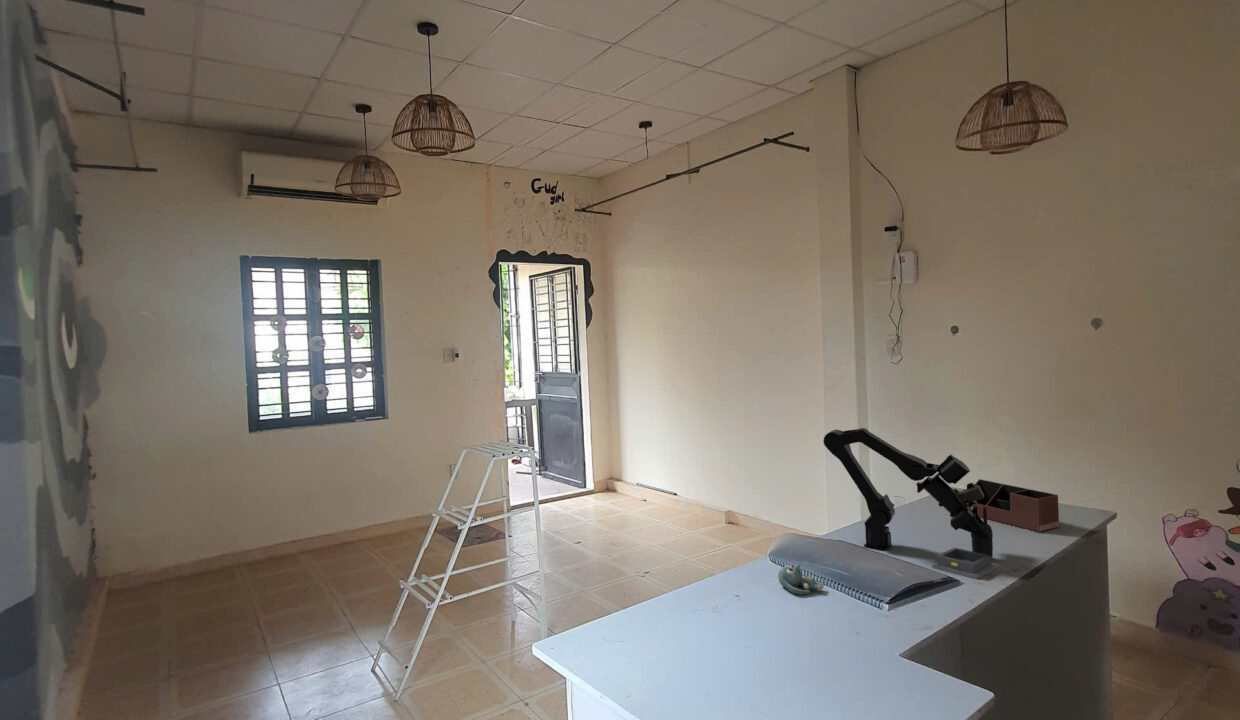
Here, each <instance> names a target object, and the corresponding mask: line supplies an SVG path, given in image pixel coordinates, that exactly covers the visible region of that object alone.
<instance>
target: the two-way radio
mask: <svg viewBox="0 0 1240 720" xmlns="http://www.w3.org/2000/svg"><path fill="white" fill-rule="evenodd" d="M976 521H977V522H978V523H979V520H978V519H976ZM982 521H983V523H979V524H980V526H981V527H982V528H983V529H984V531H985V532H986V533H987V534H988V536H989V537H988V538H987V539H985V538H983V537H980V536H978V535H975V534H973V533H971V532H970V537H971V550H972V552H977V553H981V554H985V555H990V556H991V560H992V558H993V550H994V546H993V543H994V542H993V538H994V537H993V529H992V527H991V524H989V523H988V520H987V510H986V507H984V508H983V519H982Z"/></svg>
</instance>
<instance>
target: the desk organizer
mask: <svg viewBox="0 0 1240 720" xmlns="http://www.w3.org/2000/svg"><path fill="white" fill-rule="evenodd" d="M974 484H975V485H979V486H980V487H981V490H982V492H983V494H984V498H983V499H981V500H976V501H977V503H976V504H973V505H972V506H971V507H972V508H974V507H975V506H978V508H977V510H978V515H979V517H980V518H981V519H982V520H983V508H984V507H986V510H987V521H991V522H994V523H998V524H1003V525H1005V524H1006V526H1009V525H1010V527H1013V526H1015V527H1014V528H1017V527H1018V528H1017V529H1020V528H1021V530H1024V529H1027V530H1026V531H1028V530H1030V531H1029V532H1032V531H1034V532H1033V533H1036V532H1037V533H1036V534H1040V533H1041V534H1044V532H1045V533H1049V532H1052V531H1051V530H1053V531H1056V530H1055V529H1057V530H1060V529H1059V528H1061V526H1060V518H1059V514H1060V513H1059V511H1060V510H1059V495H1058V494H1055V493H1051V492H1046V491H1039V490H1035V489H1031V488H1024V487H1019V486H1016V485H1011V484H1005V483H1001V482H996V481H991V480H986V479H982V478H981V479H980V478H978V480H977V481H976V482H975V483H974ZM1048 531H1049V532H1048Z"/></svg>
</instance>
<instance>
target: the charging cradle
mask: <svg viewBox="0 0 1240 720" xmlns="http://www.w3.org/2000/svg"><path fill="white" fill-rule="evenodd" d="M933 567H934V569H936V568H937V570H941V571H945V572H949V573H952V574H956V575H959V576H963V577H966V578H970V579H975V580H979V579H981V578H982V577H984V576H986V575H988V574H989V573H992V572H993V571H995V570H997V564H993V563H992V559H991V556H990V555H985V554H981V553H977V552H972V551H971V550H968V549H962V548H959V547H953V548H951V549H948V550H946V551H944V552H942V553H940V554H937V555H936V562H934V563H932V568H933Z"/></svg>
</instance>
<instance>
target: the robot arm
mask: <svg viewBox="0 0 1240 720" xmlns="http://www.w3.org/2000/svg"><path fill="white" fill-rule="evenodd" d="M855 443H862V444H863V445H864V446H866V447H868V448H869V449H871V450H872V451H874V452H875V453H877V454H879V455H880V456H882V457H883V458H884V459H887V460H888V461H890V462H891V463H893V464H894V465H895V466H896V467H897V468H898V469H899V471H901V472H902V473H903V474H904V475H905V476H906V477H907V478H908V479H910V480H912V481H915V482H916V487H917V490H916V492H917V494H920V493H921V492H922V491H923V490H924V491H925V492H926V493H928V494H929V495H930V496H931V497H932V498H933V499H934V500H935V501H936V502H937V503H938V504H937V505H938V506H939V507H940V508H942V507H943V508H944V509H945V510H946V512H948V513H949V517H951V518H950V526H951V527H952V528H953V529H954V530H955V531H957V530H959V529H960V530H962V531H966V532H968V533H970V534H971V533H973V534H975V535H978V536H980V537H983V538H985V539H987V538H988V537H989V536H988V534H987V533H986V532H985V531H984V529H983V528H982V527H981V526H980V524H979V523H983V519H982V518H980V517H979V515H978V510H977V508H978V506H975V507H974V508H972V507H971V506H972V505H973V504H976V503H977V501H976V500H981V499H983V498H984V494H983V492H982V490H981V487H980V486H979V485H975V483H974V482H969V483H967V484H966V488H964V489H963V490H961V491H960V490H958V489H957V488H955V487H954V488H952V487H951V486H950V484H957V483H958V482H959V481H960V480H962V479H963V478H964V477H965V476H967V474H969V473H970V472H971V469H970V468H969V467H968V465H967V464H965V463H964V462H963V461H962V460H959V458H957V457H955V456H954V455H952V454H949V455H948V456H947V457H946V458H945V459H944V460H943V461H942V462H941V463H940V464H935V463H929V462H927V461H926V460H925V459H922V458H920V457H918V456H915V455H914V454H909V453H906V452H904V451H901V450H900V449H898V448H897V447H895V446H894V445H892V444H890V443H888V442H887V441H885V440H883V438H880V437H879V436H878V435H876V434H874V433H873V432H870V431H869V430H868V429H867V428H866V427H859V428H857V429H856V428H855V429H849V430H841V429H833V430H831V431H829V432H828V433H826V434H825V435H824V437H823V445H824V447H825V448H826V449H827V450H828V451H829V453H831V454H832V455H833V456H834V457H835V458H837V459H838V460H839V461H840V463H841V464H842V466H843V467H844V468H845V470H846V472H847V473H848V475H849V476H850V478H851V479H852V481H853V482H854V484H855V485H856V488H857V489H858V490H859V491H860V494H861V495H862V496H863V498H864V500H865V502H866V505H867V510H868V512H869V514H870V515H869V516H868V517H867V519H866V520H865V521H864V527H865V529H864V530H865V544H863V547H864V546H865V548H870V549H876V550H880V551H885V550H887V549H889V548H890V547H892V546H893V543H892V532H891V531H890V526H887V525H889V524H890V522H891V521H892V520H893V518H894V516H895V514H896V511H895V504H894V503H893V502H892V501H891V500H890V497H889V495H888V494H887V493H886V494H884V495H882V494H881V493H879V492H878V490H877V489H876V487H875V486H874V484H873V482H872V481H871V479H870V478H869V476H868V475H867V474H866V472H865V470H864V469H863V467H862V466H861V465H860V462H859V461H858V459H856V457H855V455H854V454H853V451H852V448H851V445H852V444H855ZM922 480H923V481H922ZM919 481H921V482H919ZM976 519H978V520H979V523H978V522H977V521H976Z"/></svg>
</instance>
